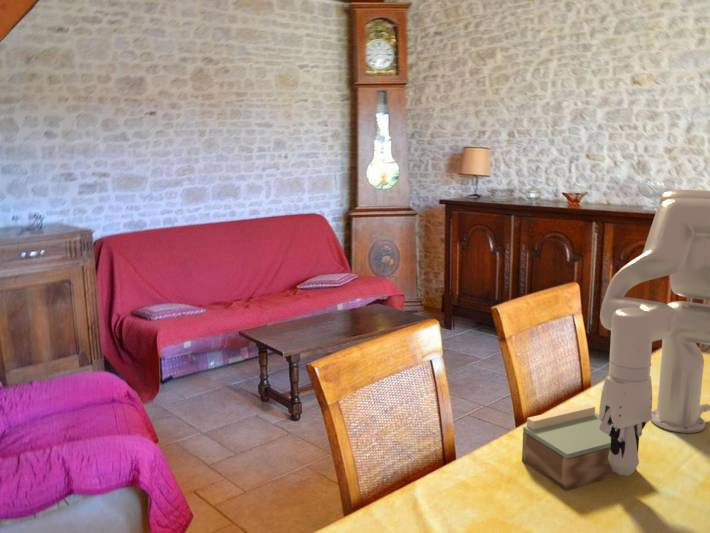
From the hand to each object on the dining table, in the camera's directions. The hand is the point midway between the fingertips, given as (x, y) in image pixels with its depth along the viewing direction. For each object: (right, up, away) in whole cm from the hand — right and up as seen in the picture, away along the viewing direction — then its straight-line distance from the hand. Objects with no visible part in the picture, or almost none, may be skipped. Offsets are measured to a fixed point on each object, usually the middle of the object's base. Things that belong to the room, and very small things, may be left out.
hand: (624, 453), depth 131 cm
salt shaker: (0, -4, +1) cm, 4 cm away
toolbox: (-5, -6, +12) cm, 14 cm away
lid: (-5, +1, +10) cm, 12 cm away
